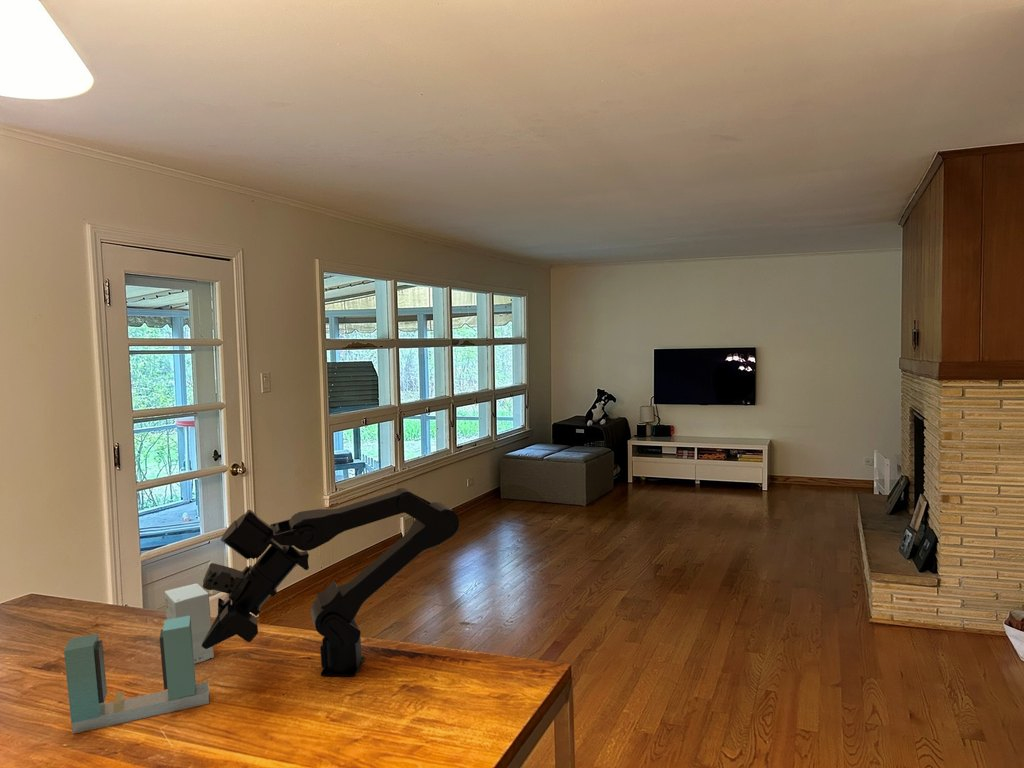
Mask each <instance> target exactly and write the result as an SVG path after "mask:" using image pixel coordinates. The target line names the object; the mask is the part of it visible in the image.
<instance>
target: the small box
mask: <svg viewBox="0 0 1024 768" xmlns="http://www.w3.org/2000/svg"><path fill="white" fill-rule="evenodd" d="M164 601H165V602H164V603H165V614H166V615H165V616H166V620H168V619H173V618H179V617H184V616H190V617H191V629H192V641H193V653H194V665H195V664H199V663H202V662H204V661H208V660H211V659H212V658H215V656H214V655H215V653H214V646H212V647H210V648H208V649H205V648H203V647H202V642H203V641H204V639H205V637H206V635H207V633H208V631H209V630H210V628H211V626H212V617H211V606H210V605H211V604H210V594H209V592H208V591H206V589H205V588H203V586H201V585H200V584H199V583H193V584H188V585H184V586H180V587H176V588H171V589H168V590H164ZM210 658H211V659H210Z"/></svg>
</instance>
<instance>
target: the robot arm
mask: <svg viewBox="0 0 1024 768" xmlns="http://www.w3.org/2000/svg"><path fill="white" fill-rule="evenodd" d="M400 514H407V515H408V516H410V517H411V518H414V521H413V522H412V524H411V526H410V528H409V530H408V531H407V532H406V533H405V534H404V535H403V536H402V537H400V538H399V539H398V540H397V541H396V542H395V543H394V544H392V545H391V546H390V547H389V548H388V549H386V550H385V551H384V552H383V553H382V554H380V555H379V556H378V557H377V558H376V559H375V560H373V561H372V562H371V563H370V564H368V566H367V567H365V568H364V569H363V570H362V571H360V572H359V573H358V574H357V575H356V576H355V577H354V578H352V579H351V580H350V581H348V582H346V583H344V584H341V585H339V586H338V584H337V583H336V581H334V580H333V581H332V582H331V583H329V585H328V586H327V587H326V588H325V589H323V591H321V592H319V593H316V594H315V595H316V599H315V600H314V601H313V603H312V604H311V610H310V613H311V618H312V621H313V625H314V628H315V630H316V631H317V633H318V634H319V635H321V636H322V639H321V645H320V647H319V648H320V649H319V651H320V663H321V665H320V666H321V668H322V670H321V671H320V676H322V677H330V676H331V677H355V676H356V675H357V674H358V672H359V671H360V669H361V667H362V666H363V664H364V662H365V660H366V658H365V656H362V640H361V639H362V638H361V634H362V631H361V629H360V627H359V626H358V623H357V621H356V619H355V618H356V616H357V614H358V612H359V611H360V610H361V607H362V605H363V604H364V603H365V602H366V601H367V600H368V599H369V598H370V597H372V596H373V595H374V594H375V593H376V592H377V591H378V590H380V589H381V588H382V587H383V586H384V585H386V583H388V582H389V581H390V580H391V579H393V577H395V576H396V575H397V574H398V573H399V572H400V571H401V570H403V569H404V568H405V567H406V566H408V564H410V563H411V562H412V561H413V560H415V558H417V557H418V556H419V555H420V554H421V553H423V552H424V551H427V550H429V549H432V548H434V547H438V546H440V545H441V544H443V543H445V542H446V541H448V540H449V539H451V538H452V537H454V536H455V535H456V534H457V533H458V531H459V527H460V519H459V516H458V514H457V513H456V512H455V511H454V510H453V509H451V508H450V507H448V506H447V505H446V504H445V503H443V502H435V501H434V502H430V501H429V500H426V499H425V498H423V497H420V496H419V495H417V494H414V493H413V492H412V491H411V490H409V489H408V488H405V487H399V488H397V489H396V490H393V491H390V492H387V493H384V494H380V495H377V496H374V497H373V496H372V497H371V498H367V499H363V500H361V501H357V502H354V503H350V504H347V505H345V506H344V505H343V506H340V507H337V508H329V509H327V508H318V509H312V510H311V509H310V510H302V511H299V512H296V513H294V514H293V515H292V516H291V518H289V519H286V520H281V521H279V522H274V523H271V524H270V525H269V524H268V523H267V522H266V521H264V520H263V519H261V518H260V517H259V516H258V515H257V514H256V512H254V511H252V510H251V509H248V510H247V511H246V512H245V513H244V514H242V515H241V516H239V517H238V518H237V519H236V520H234V521H233V522H232V523H231V524H230V525H229V526H228V527H227V529H226V530H225V532H224V533H223V535H222V536H221V539H220V542H222V543H223V544H225V545H226V546H228V547H229V548H230V549H232V550H233V551H235V552H236V553H237V554H239V555H240V556H242V557H243V558H244V559H246V560H250V559H253V560H255V559H258V560H256V561H255V563H254V564H253V565H249V566H247V565H246V566H245V568H244V569H243V570H238V569H236V568H233V567H229V566H225V565H222V564H217V563H215V562H214V563H213V562H212V563H209V565H208V568H207V570H206V573H205V575H204V577H203V579H202V588H203V589H204V590H208V591H212V590H213V591H217V592H221V593H225V594H226V596H225V597H224V598H223V599H222V598H220V597H218V598H217V615H216V617H215V619H214V621H213V622H212V623H211V628H210V630H209V631H208V633H207V635H206V637H205V639H204V641H203V642H202V647H203V648H205V649H208V648H210V647H212V646H213V647H214V646H216V645H218V644H220V643H221V642H224V641H225V640H228V639H231V638H233V637H235V636H238V637H240V638H241V639H243V640H244V641H246V642H247V643H251V642H252V641H253V640H254V639H255V637H257V635H258V634H259V630H258V618H257V616H258V615H259V614H260V613H261V607H262V605H264V603H265V602H266V601H268V599H269V598H270V596H271V597H273V598H274V596H276V594H277V593H278V591H277V588H278V587H279V586H280V585H281V584H282V582H283V581H284V580H285V579H286V578H287V576H288V575H290V573H292V571H293V570H294V569H295V568H296V566H297V565H298V566H299V567H301V568H302V569H303V570H305V571H308V570H309V568H310V566H309V557H310V554H309V551H312V550H314V549H316V548H318V547H320V546H322V545H325V544H326V543H329V542H330V541H331V540H333V539H334V538H335V537H337V536H338V535H339V534H342V533H344V532H346V531H349V530H352V529H353V530H354V529H356V528H359V527H361V526H365V525H368V524H371V523H375V522H379V521H382V520H384V519H387V518H390V517H394V516H398V515H400Z"/></svg>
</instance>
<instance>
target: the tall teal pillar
mask: <svg viewBox="0 0 1024 768" xmlns="http://www.w3.org/2000/svg"><path fill="white" fill-rule="evenodd" d="M162 627H163V628H162V629H160V634H159V646H160V647H159V648H160V658H161V669H162V670H161V671H162V681H163V691H166V690H168V699H169V700H173V699H177V698H182V697H187V696H191V695H195V686H196V684H197V678H196V667H195V664H194V653H193V641H192V629H191V617H190V616H184V617H179V618H173V619H168V620H167V619H164V622H163V626H162Z"/></svg>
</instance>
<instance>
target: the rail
mask: <svg viewBox="0 0 1024 768" xmlns="http://www.w3.org/2000/svg"><path fill="white" fill-rule="evenodd" d="M103 644H104V643H103V640H102V639H101V640H99V633H94V634H87V635H82V636H78V637H72V638H71V637H70V638H69V639H68V642H67V644H66V645H65V648H64V650H63V656H64V662H65V663H64V664H65V665H64V666H65V674H66V675H65V676H66V683H67V684H66V685H67V691H68V692H67V695H68V703H69V704H68V705H69V712H70V713H69V716H70V723H71V724H72V725H71V726H72V727H71V728H72V734H73V735H74V734H78V733H79V734H80V733H83V732H88V731H92V730H97V729H101V728H105V727H111V726H114V725H120V724H125V723H129V722H132V721H137V720H142V719H146V718H150V717H155V716H159V715H165V714H168V713H174V712H177V711H181V710H186V709H187V710H188V709H191V708H195V707H200V706H204V705H209V704H210V686H209V685H210V684H209V681H206V682H205V681H204V682H200V683H196V686H195V695H191V696H187V697H182V698H177V699H173V700H169V699H168V689H165V690H163V691H158V692H153V693H148V694H144V695H139V696H134V697H129V698H125V696H124V691H123V690H122V691H116V693H115V695H114V696H115V697H114V698H113V701H111V702H105V700H106V697H107V693H108V688H107V686H108V685H107V676H106V665H105V656H104V646H103Z"/></svg>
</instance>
